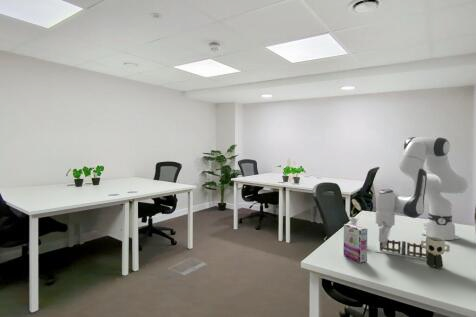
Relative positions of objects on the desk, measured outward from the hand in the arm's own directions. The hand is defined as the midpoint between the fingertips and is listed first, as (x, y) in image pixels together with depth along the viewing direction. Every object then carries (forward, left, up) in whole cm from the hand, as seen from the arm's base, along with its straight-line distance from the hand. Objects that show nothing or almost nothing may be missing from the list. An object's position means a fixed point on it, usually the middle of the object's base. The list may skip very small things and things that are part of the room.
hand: (384, 246), depth 143 cm
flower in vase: (-13, -16, -4) cm, 21 cm away
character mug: (+7, +21, -4) cm, 22 cm away
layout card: (-7, +8, -4) cm, 11 cm away
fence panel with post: (-2, +14, -3) cm, 15 cm away
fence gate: (-2, +3, -3) cm, 4 cm away
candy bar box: (+15, -13, -4) cm, 20 cm away
